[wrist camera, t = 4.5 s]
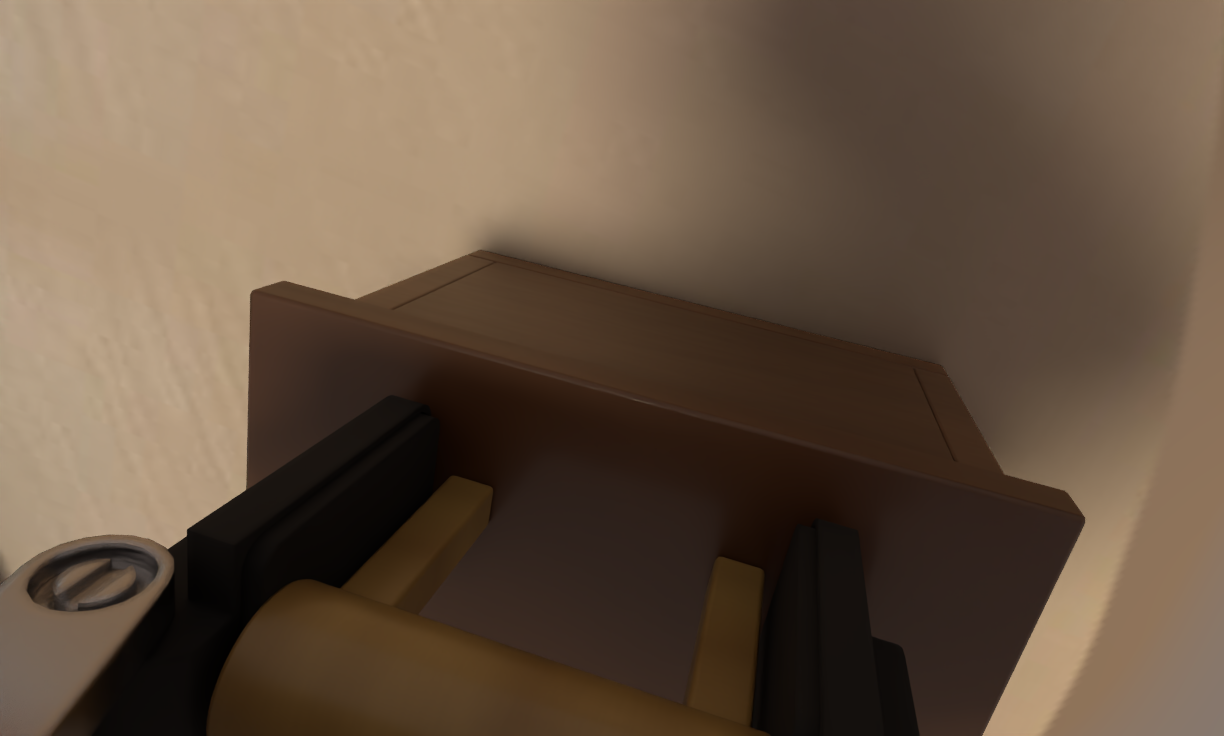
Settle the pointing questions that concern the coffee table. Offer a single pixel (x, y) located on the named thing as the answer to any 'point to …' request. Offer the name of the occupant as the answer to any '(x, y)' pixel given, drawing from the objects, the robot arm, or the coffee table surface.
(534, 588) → the lid
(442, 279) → the chest
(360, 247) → the coffee table surface
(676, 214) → the coffee table surface
